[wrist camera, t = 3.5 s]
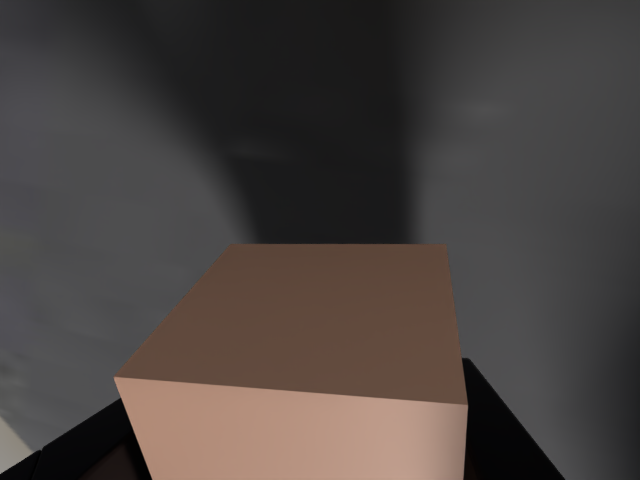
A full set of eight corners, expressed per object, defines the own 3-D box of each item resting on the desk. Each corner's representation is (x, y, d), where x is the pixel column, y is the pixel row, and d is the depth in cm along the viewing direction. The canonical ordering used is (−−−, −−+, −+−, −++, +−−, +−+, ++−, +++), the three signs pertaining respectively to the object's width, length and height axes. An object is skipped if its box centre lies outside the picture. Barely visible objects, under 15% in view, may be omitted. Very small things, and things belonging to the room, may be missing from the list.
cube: (441, 414, 10) (453, 623, 6) (261, 399, 11) (188, 573, 7) (445, 243, 8) (467, 405, 5) (231, 244, 9) (113, 376, 6)
